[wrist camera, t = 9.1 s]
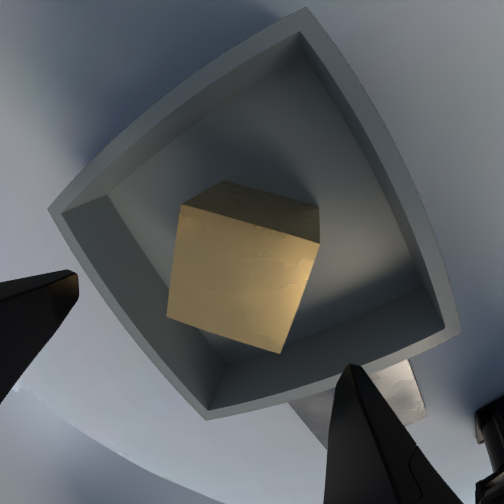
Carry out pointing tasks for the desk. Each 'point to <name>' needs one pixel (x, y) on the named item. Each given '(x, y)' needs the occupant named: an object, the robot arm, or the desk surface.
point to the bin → (277, 182)
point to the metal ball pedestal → (390, 386)
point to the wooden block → (242, 263)
